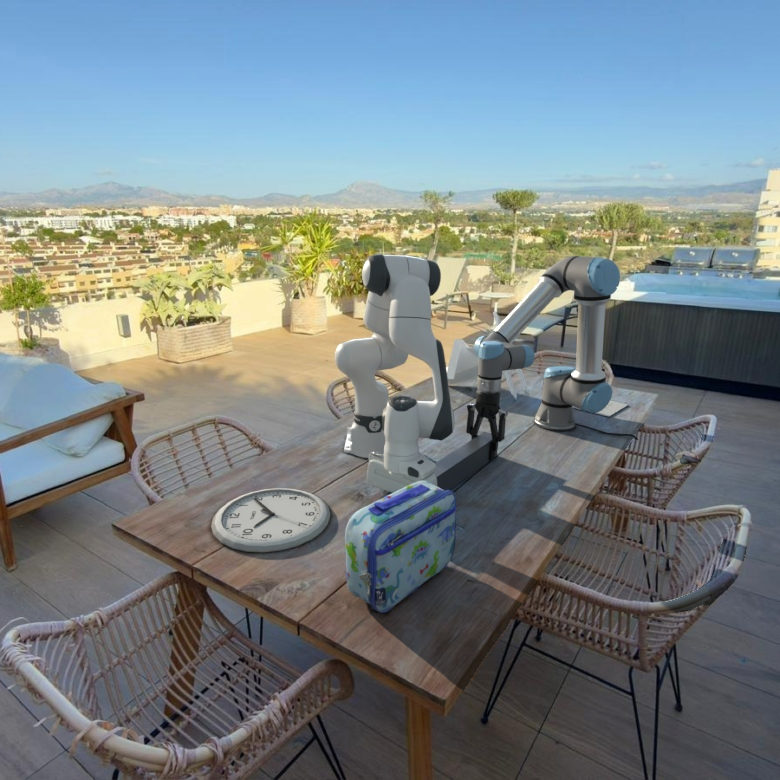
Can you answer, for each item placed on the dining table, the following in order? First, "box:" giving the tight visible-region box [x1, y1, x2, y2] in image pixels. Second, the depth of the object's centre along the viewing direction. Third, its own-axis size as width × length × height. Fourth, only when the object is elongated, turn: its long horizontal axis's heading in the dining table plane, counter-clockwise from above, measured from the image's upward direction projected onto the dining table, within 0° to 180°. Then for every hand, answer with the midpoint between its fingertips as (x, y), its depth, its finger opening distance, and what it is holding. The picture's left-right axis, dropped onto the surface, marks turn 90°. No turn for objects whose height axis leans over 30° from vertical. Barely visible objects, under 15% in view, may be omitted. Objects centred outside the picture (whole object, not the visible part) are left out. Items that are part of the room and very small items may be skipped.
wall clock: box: [210, 487, 331, 553], centre depth 136 cm, size 30×2×30 cm
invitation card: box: [573, 400, 629, 418], centre depth 226 cm, size 21×1×15 cm
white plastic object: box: [446, 310, 531, 400], centre depth 245 cm, size 37×45×31 cm
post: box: [379, 431, 498, 500], centre depth 154 cm, size 58×5×7 cm, turn 143°
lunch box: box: [344, 481, 457, 614], centre depth 109 cm, size 26×11×21 cm, turn 135°
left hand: (400, 508), depth 136 cm, fingers open, 7 cm apart
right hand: (483, 456), depth 174 cm, fingers closed on post, 5 cm apart
